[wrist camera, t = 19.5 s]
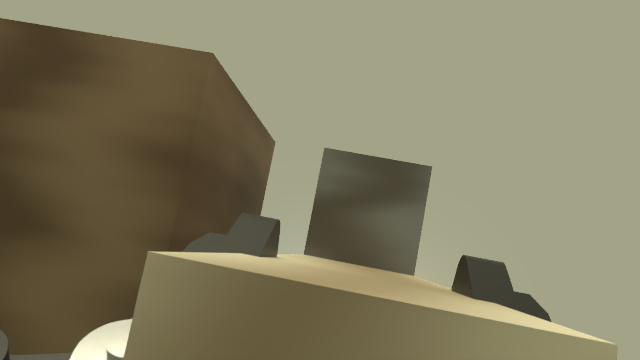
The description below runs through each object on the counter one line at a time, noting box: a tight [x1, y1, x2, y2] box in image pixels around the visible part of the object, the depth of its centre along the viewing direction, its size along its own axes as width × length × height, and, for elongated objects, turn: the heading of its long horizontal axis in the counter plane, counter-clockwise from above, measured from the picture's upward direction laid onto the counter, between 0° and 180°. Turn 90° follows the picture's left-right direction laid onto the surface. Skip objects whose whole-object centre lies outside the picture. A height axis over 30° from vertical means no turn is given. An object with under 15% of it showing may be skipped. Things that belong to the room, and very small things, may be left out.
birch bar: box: [123, 148, 618, 360], centre depth 14 cm, size 4×20×7 cm, turn 176°
